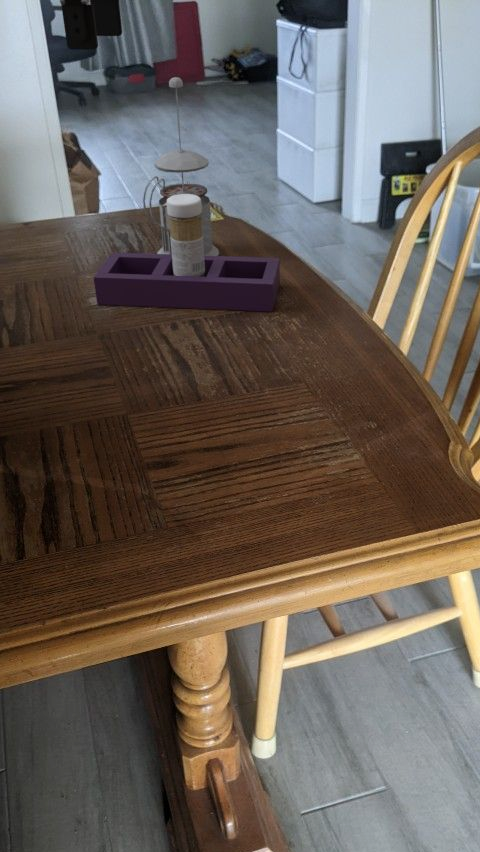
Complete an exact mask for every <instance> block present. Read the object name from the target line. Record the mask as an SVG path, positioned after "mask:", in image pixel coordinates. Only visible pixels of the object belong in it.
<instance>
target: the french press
mask: <svg viewBox="0 0 480 852" xmlns="http://www.w3.org/2000/svg"><path fill="white" fill-rule="evenodd" d="M168 87H169V88H172V89H173V88H175V89H174V90H175V101H176V103H175V104H176V114H177V115H176V116H177V129H178V130H177V131H178V140H179V143H178V144H179V149H177V150H171V151H169V152H166V153H164V154H162V155H161V156H160V157H159V158H157V159H156V160H155V161H154V163H153V165H154V167H155V168H156V170H158V171H161V172H164V173H175V174H176V173H181V182H179V183H174V184H168V185H166V179H164V178H160V179H159V177H158V176H156V175H155V176H154V177H152V178H151V179H150V180H149V181H148V183H147V184H146V186H145V189H144V192H143V197H142V203H143V211H144V214H145V217H146V218H147V220H148V222H150V223H151V224H152V225H154V226H157V227H158V228H160V229H161V236H162V237H161V239H162V240H161V241H162V247H161V248H159V250H158V251H157V253H156V254H172V251H171V240H170V236H171V234H170V221H169V217H168V216H169V215H168V213H167V206H165V207H164V208H163V206H164V205H165V204H167V199H168V198H169V197H171V196H174V195H179V194H192V195H196V196H198V197H200V199H201V205H202V212H201V226H202V235H203V246H204V256H220V251H219V248H218V247H216V246H215V245H214V244H213V235H212V234H213V233H212V232H213V231H212V220H211V216H212V214H211V200H210V198H209V196H207V193H208V188H207V187H206V186H205V185H202V184H200V183H199V184H198V183H191V182H189V183H188V182H187V183H184V173H191V172H197V171H200V170H203V169H205V168H206V167H208V166H209V163H210V161H209V159H208V158H207V157H205V156H203V155H201V154H199V153H198V152H195V151H193V150H187V149H185V150H184V149H182V141H181V127H180V111H179V98H178V88H182V87H184V83H183V79H181V78H180V77H176V76H174V77H172V78H170V79H169V81H168ZM155 179H156V180H157V181H156V183H154V185H153V187H152V189H151V192H150V196H149V202H148V204H149V213H150V216H151V218H152V220H151V218H150V216H149V214H148V212H147V206H146V196H147V195H146V194H147V191H148V188H149V186H150V184H152V182H153V181H154V180H155ZM161 182H163V183H162V184H163V185H161V184H160V183H161ZM156 187H159V188H161V189H160V190H159V194H160V196H162V197H161V198H160V199H159V200H158V206H159V216H160V217H159V219H160V224H159V223H158V222H157V221H156V219H155V217H154V213H153V210H152V200H153V195H154V191H155V190H156ZM164 215H165V216H164ZM164 223H165V224H164ZM165 231H166V233H165Z"/></svg>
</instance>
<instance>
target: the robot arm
mask: <svg viewBox="0 0 480 852" xmlns="http://www.w3.org/2000/svg"><path fill="white" fill-rule="evenodd" d="M59 3H60V6H61V12H62V19H63V27H64V33H65V40H66V46H67V48H68V50H86V51H88V50H91V51H92V50H93V51H94V50H97V49H98V47H99V42H98V41H99V40H98V37H120V36H122V34H123V25H122V15H121V7H120V5H121V4H120V0H59Z"/></svg>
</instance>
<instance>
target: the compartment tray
mask: <svg viewBox="0 0 480 852" xmlns="http://www.w3.org/2000/svg"><path fill="white" fill-rule="evenodd" d="M280 259H281V258H280V257H258V256H257V257H256V256H255V257H253V256H227V255H226V256H225V255H218V256H204V263H205V273H204V275H205V277H195V276H174V273H173V263H172V254H157V253H142V252H141V253H139V252H115V251H114V252H111V253H110V254H109V255H108V257H107V258H106V259H105V261H104V262H103V263H102V265H101V266H100V268H99V269H98V271H96V273H95V274H94V276H93V284H94V291H95V297H96V304H97V305H98V306H118V307H119V306H120V307H122V306H123V307H143V308H144V307H147V308H148V307H149V308H169V309H172V308H173V309H194V310H196V309H198V310H220V311H221V310H222V311H244V312H245V311H246V312H266V313H267V312H270V313H273V312H274V309H275V305H276V301H277V297H278V293H279V289H280V285H281V282H280V281H281V278H280V277H281V273H280V271H281V270H280V269H281V266H280V265H281V260H280Z"/></svg>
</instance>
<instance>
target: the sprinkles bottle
mask: <svg viewBox="0 0 480 852" xmlns="http://www.w3.org/2000/svg"><path fill="white" fill-rule="evenodd" d="M166 207H167V213H168V215H169V216H168V217H169V221H170V234H171V236H170V240H171V251H172V263H173V273H174V276H195V277H205V275H204V273H205V263H204V246H203V235H202V226H201V212H202V205H201V199H200V197H198V196H196V195H192V194H179V195H174V196H171V197H169V198H168V199H167V203H166Z"/></svg>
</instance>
